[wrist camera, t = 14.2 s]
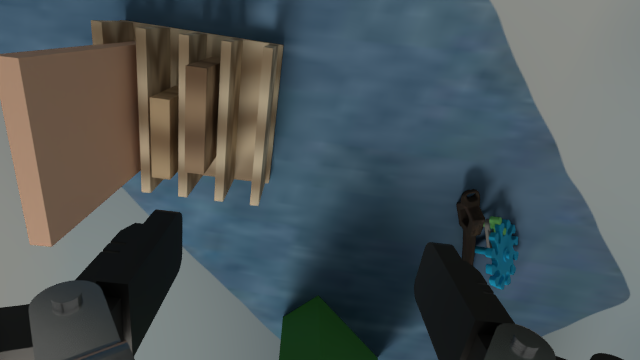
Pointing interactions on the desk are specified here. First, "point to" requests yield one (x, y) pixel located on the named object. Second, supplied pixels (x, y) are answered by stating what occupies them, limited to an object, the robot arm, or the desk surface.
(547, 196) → the desk surface
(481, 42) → the desk surface
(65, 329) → the robot arm
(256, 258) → the desk surface
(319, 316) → the hardback book
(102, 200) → the tall sheet
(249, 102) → the rack
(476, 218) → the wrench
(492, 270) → the gear
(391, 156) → the desk surface
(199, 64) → the offcut tall
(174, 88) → the offcut short
